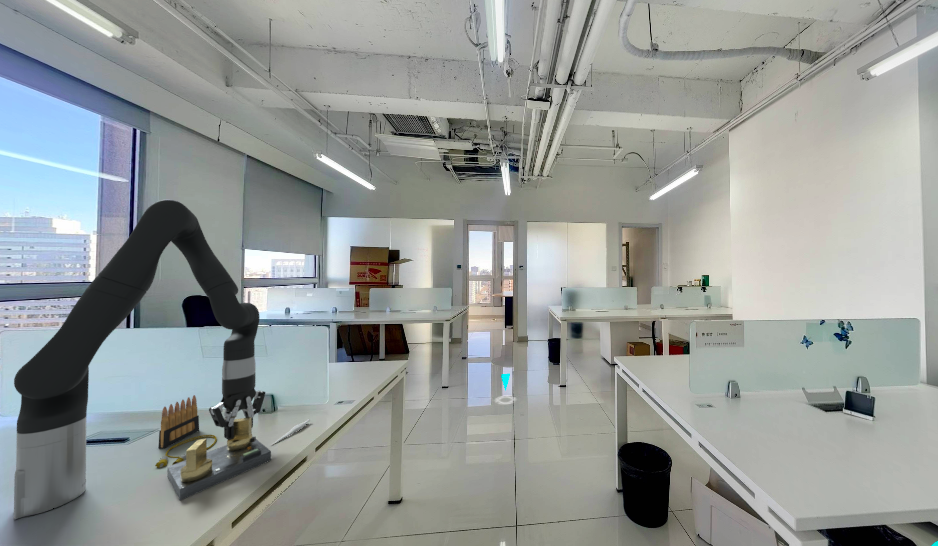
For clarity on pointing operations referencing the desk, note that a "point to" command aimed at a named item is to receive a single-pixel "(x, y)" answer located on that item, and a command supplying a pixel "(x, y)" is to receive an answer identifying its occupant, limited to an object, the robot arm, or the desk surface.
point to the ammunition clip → (178, 422)
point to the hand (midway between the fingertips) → (238, 434)
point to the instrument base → (219, 468)
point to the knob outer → (241, 434)
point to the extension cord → (164, 459)
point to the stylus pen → (294, 430)
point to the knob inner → (196, 462)
